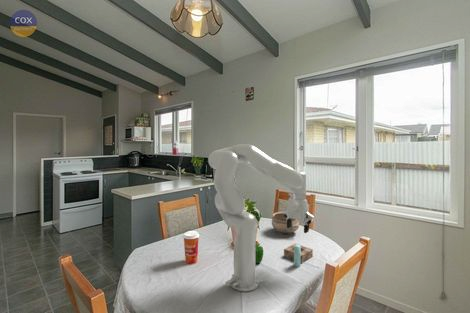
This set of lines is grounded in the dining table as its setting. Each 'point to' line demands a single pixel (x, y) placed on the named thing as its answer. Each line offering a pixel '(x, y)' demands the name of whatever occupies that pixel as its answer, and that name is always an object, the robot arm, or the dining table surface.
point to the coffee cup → (191, 246)
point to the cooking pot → (283, 223)
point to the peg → (297, 255)
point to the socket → (305, 253)
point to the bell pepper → (258, 253)
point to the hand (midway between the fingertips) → (297, 229)
